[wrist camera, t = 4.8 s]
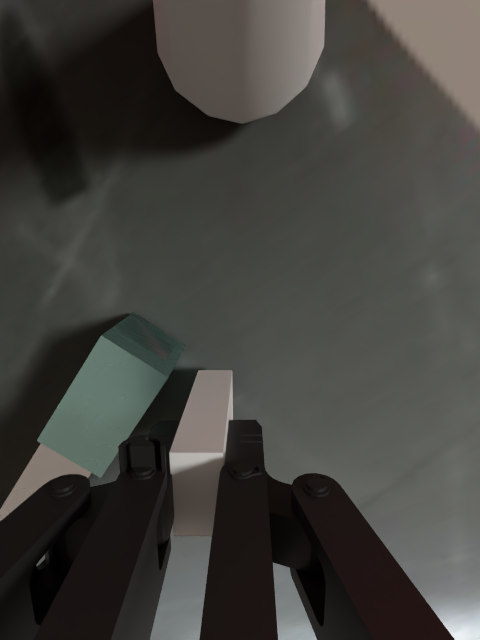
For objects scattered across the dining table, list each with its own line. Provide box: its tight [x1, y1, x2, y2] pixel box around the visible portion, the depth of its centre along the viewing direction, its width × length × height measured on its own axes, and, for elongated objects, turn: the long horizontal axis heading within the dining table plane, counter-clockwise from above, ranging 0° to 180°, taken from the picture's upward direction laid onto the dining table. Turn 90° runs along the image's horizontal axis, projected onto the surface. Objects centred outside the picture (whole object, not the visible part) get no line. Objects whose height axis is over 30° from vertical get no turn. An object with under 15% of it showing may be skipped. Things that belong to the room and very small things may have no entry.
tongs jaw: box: [0, 312, 185, 521], centre depth 18 cm, size 22×4×4 cm, turn 146°
